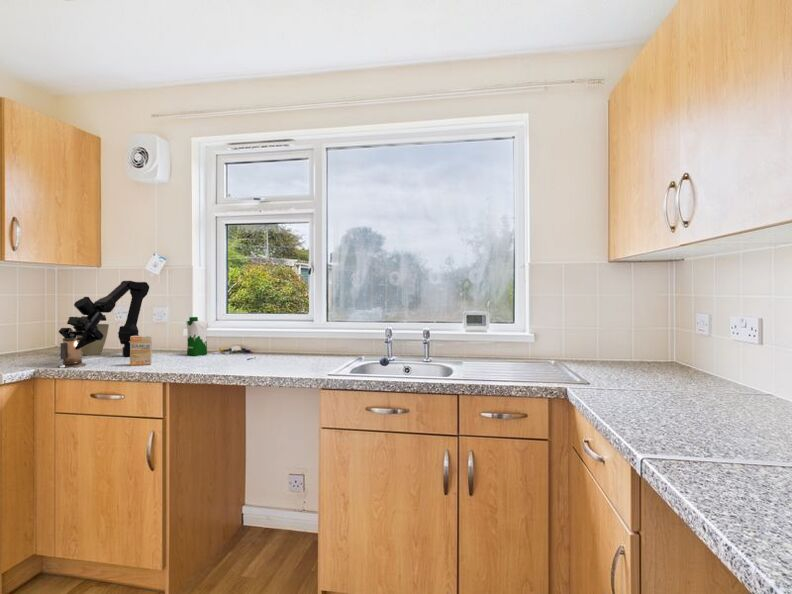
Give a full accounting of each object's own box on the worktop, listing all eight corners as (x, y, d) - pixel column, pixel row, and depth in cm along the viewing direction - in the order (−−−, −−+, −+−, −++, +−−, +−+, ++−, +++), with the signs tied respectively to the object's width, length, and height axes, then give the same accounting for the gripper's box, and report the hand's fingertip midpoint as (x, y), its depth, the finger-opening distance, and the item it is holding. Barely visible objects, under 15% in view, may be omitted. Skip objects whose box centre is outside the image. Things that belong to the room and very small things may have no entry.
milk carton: (184, 355, 227) (184, 317, 227) (200, 353, 235) (200, 316, 235) (194, 356, 222) (194, 317, 222) (210, 354, 230) (210, 316, 230)
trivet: (84, 363, 199) (84, 362, 199) (87, 366, 192) (87, 365, 192) (57, 366, 193) (57, 364, 193) (58, 368, 185) (58, 367, 185)
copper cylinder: (72, 361, 196) (72, 332, 196) (85, 362, 195) (85, 332, 195) (55, 365, 188) (54, 334, 188) (68, 365, 187) (68, 334, 187)
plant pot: (67, 356, 226) (67, 325, 226) (97, 352, 240) (97, 323, 240) (86, 357, 221) (86, 325, 221) (115, 353, 234) (115, 324, 234)
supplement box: (129, 366, 192) (129, 336, 192) (131, 364, 196) (130, 335, 196) (151, 364, 196) (151, 335, 196) (152, 363, 200) (151, 334, 200)
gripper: (62, 310, 198) (38, 336, 187) (97, 310, 195) (76, 337, 184) (77, 326, 206) (56, 352, 195) (112, 326, 202) (92, 353, 192)
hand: (69, 348), depth 191 cm, fingers closed on copper cylinder, 6 cm apart
